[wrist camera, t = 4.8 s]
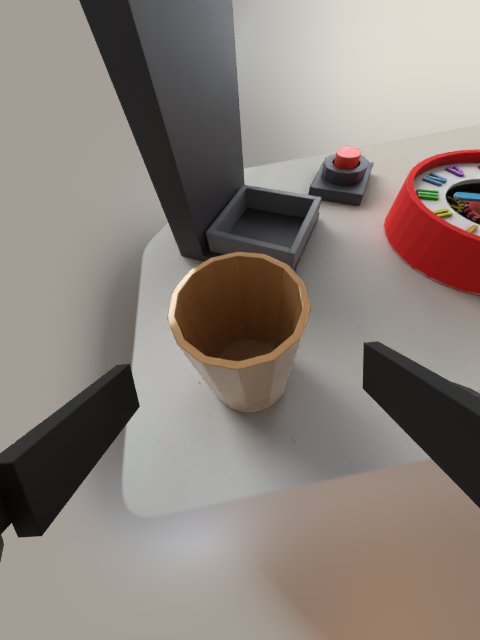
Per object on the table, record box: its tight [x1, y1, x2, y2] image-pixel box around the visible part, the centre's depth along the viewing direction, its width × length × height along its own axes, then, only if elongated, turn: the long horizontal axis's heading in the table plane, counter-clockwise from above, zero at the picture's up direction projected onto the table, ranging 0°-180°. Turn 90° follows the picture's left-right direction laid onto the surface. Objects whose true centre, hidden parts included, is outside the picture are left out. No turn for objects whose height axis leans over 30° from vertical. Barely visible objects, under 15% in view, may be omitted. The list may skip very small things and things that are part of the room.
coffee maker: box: [79, 0, 322, 271], centre depth 23 cm, size 14×16×24 cm
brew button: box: [334, 147, 361, 169], centre depth 35 cm, size 4×4×2 cm
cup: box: [168, 252, 311, 413], centre depth 17 cm, size 8×8×12 cm
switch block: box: [309, 154, 373, 206], centre depth 37 cm, size 10×8×4 cm
